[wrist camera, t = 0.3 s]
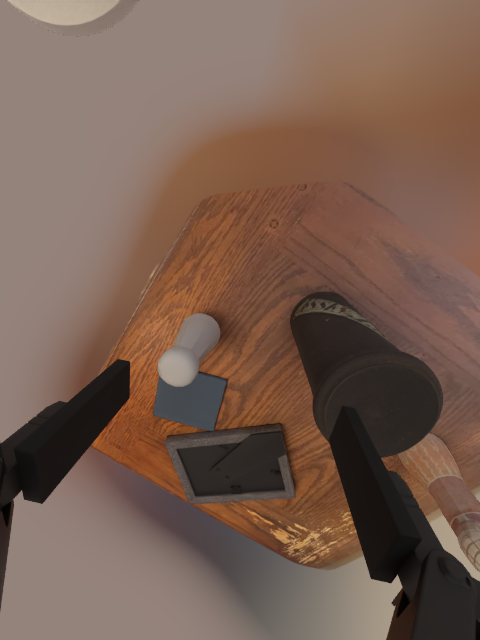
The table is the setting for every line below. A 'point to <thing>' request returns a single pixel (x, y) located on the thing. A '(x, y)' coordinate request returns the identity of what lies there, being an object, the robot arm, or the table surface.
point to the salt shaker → (189, 350)
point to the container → (363, 375)
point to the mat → (191, 401)
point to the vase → (447, 491)
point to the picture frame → (232, 464)
